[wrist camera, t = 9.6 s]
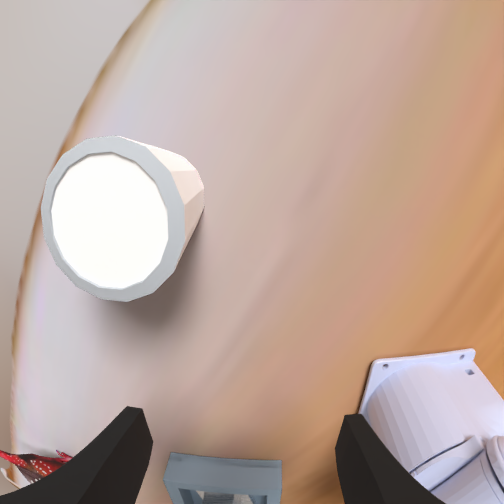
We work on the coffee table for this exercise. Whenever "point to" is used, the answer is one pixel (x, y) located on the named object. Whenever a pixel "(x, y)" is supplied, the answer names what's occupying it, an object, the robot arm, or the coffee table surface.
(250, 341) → the coffee table surface
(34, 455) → the decorative bird figurine
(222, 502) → the grey t-shaped bar
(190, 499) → the slate well
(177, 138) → the coffee table surface
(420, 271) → the coffee table surface
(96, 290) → the off-white tapered cylinder
